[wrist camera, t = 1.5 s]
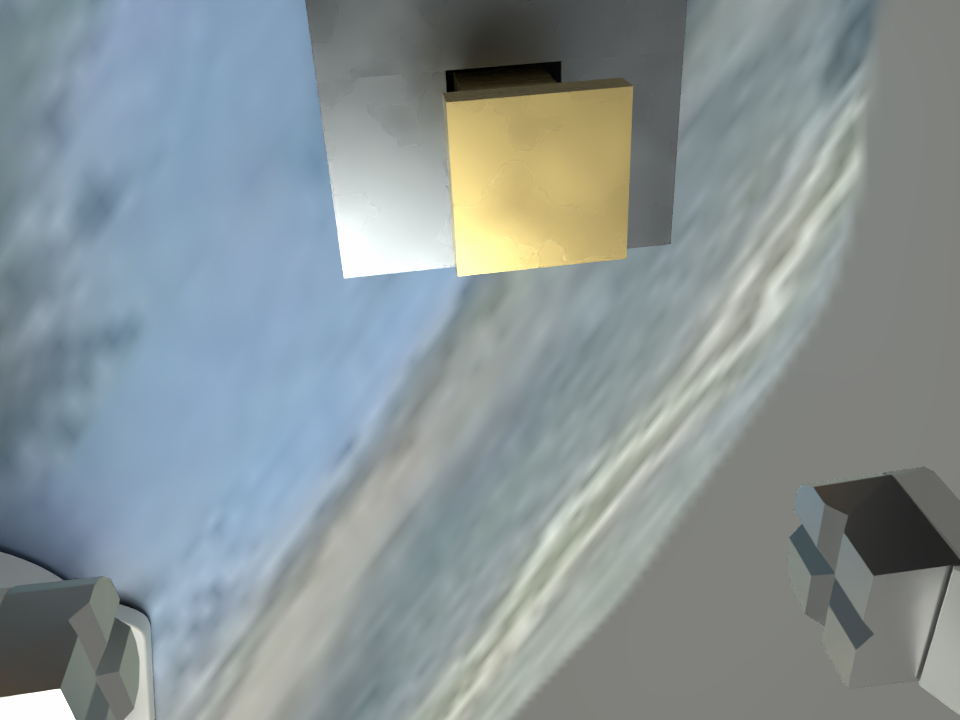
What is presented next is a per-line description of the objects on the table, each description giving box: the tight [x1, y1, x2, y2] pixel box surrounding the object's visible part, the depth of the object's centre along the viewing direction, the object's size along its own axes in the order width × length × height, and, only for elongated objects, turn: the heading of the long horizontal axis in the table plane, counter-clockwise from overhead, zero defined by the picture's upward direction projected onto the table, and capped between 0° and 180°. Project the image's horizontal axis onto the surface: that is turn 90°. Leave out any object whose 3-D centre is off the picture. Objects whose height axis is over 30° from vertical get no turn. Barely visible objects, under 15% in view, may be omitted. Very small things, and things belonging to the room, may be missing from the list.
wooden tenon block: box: [442, 64, 633, 276], centre depth 28 cm, size 5×5×8 cm
